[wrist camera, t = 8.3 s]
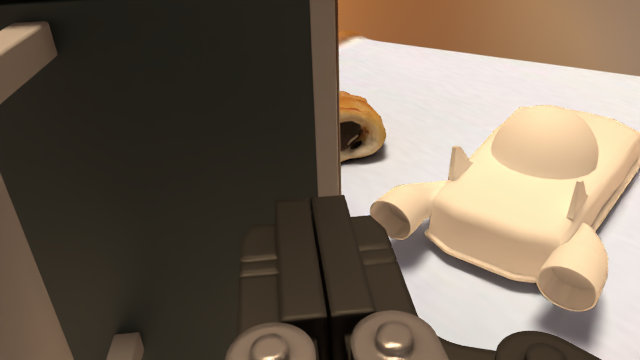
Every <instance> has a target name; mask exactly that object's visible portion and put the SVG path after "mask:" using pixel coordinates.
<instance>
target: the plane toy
mask: <svg viewBox="0 0 640 360" xmlns="http://www.w3.org/2000/svg"><path fill="white" fill-rule="evenodd" d="M639 167H640V132H638V131H636V130H634V129H632V128H630V127H628V126H626V125H624V124H622V123H620V122H618V121H617V120H615V119H611V118H607V117H603V116H599V115H595V114H591V113H586V112H581V111H575V110H569V109H565V108H562V107H558V106H552V105H540V106H533V107H519V108H518V109H517V110H516V111H515V112H514V113H513V114H512V115H511V116H510V117H509V118H508V119H507V120H506V121H505V122H504V123H503V124H501V125H500V126H499V127H498V128H497V129H495V130H494V131H493V133H492V134H491V135H490V136H489V137H488V138H487V139H486V141H485V142H484V143H483V144H482V145H481V146H480V147H479V148H478V149H477V150H476V151H475V153H474V154H473V155H472V156H471V157H470V158H469V159H468V157H467V156H466V154H465V153H464V151H463V150H462V148H461V147H458V146H454V147H453V148H452V155H451V162H450V170H449V177H448V181H439V182H430V183H414V184H407V185H399V186H396V187H394V188H393V189H391V190H390V191H389V192H387V193H386V194H385V195H383V196H382V197H381V198H380V199H378V200H377V201H376V202H374V203H373V204H372V206H371V207H370V215H371V216H372V217H373V218H374V219H375V220H376V221H377V222H378V223H379V224H381V225H382V226H383V227H384V228H385V229H386V232H387V235H388V236H389V237H391V238H393V239H397V240H404V239H406V238H408V237H409V236H410V235H411V234H412V233H413V232H414V231H415V229H416V228H417V227H418V226H419V225H420V224H421V223H422V222H423V221H424V220H425V219H427V218H429V217H430V225H429V228H428V229H427V230H426V232H425V235H426V236H427V237H428V238H429V239H430V240H431V241H432V242H434V243H435V244H436V245H437V246H438V247H439V248H440V249H442V250H443V251H444V252H445V253H447V254H449V255H452V256H454V257H456V258H459V259H461V260H464V261H466V262H469V263H471V264H474V265H476V266H479V267H481V268H484V269H486V270H489V271H491V272H494V273H496V274H499V275H501V276H504V277H506V278H509V279H511V280H515V281H523V282H531V283H536V284H537V286H538V288H539V290H540V292H541V293H542V294H543V295H544V297H545V298H547V299H548V300H549V301H551V302H552V303H553V304H555V305H557V306H559V307H561V308H564V309H567V310H570V311H579V312H581V311H587V310H590V309H591V308H593V307H595V305H596V303H597V302H598V300H599V297H600V295H601V292H602V290H603V287H604V285H605V282H606V280H607V276H608V256H607V253H606V250H605V248H604V245H603V244H602V242H601V240H600V238H599V237H598V236H597V234H596V233H595V232H596V230H597V229H598V228H599V226H600V225H601V223H602V222H603V220H604V219H605V217H606V216H607V215H608V213H609V212H610V210H611V209H612V207H613V206H614V204H615V203H616V201H617V200H618V198H619V197H620V196H621V194H622V193H623V191H624V190H625V188H626V187H627V185H628V184H629V182H630V181H631V180H632V178H633V177H634V175H635V174H636V173H637V171H638V169H639Z"/></svg>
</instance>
